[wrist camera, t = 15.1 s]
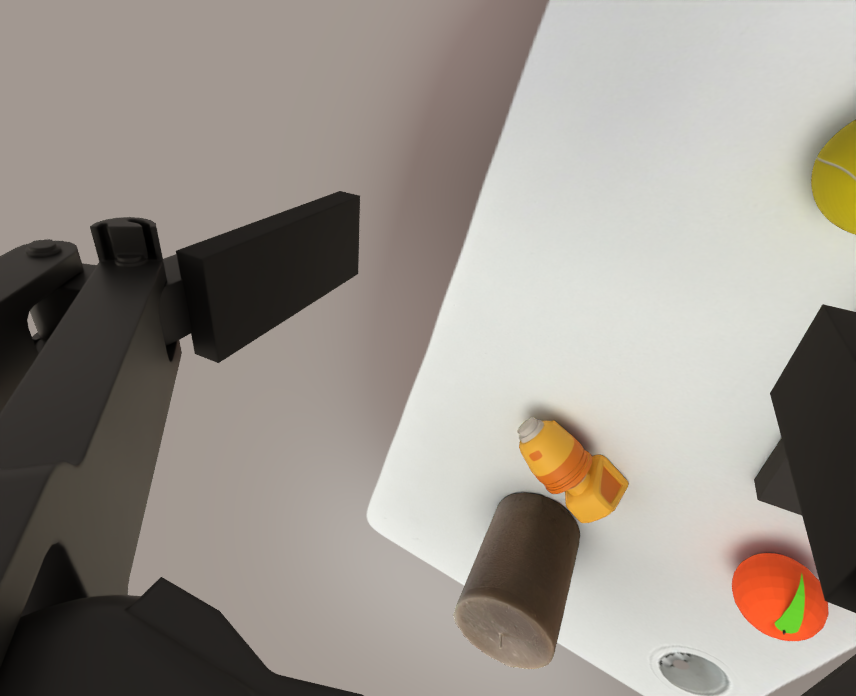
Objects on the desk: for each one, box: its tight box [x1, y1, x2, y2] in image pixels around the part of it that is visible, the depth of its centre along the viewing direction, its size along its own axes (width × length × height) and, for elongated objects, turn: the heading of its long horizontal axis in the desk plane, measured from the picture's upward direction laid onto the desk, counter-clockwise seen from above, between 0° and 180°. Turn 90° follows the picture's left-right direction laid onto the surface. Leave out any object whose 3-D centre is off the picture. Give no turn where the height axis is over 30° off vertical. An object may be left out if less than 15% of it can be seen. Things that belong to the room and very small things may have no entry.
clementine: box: [732, 553, 828, 641], centre depth 43 cm, size 8×7×7 cm
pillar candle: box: [453, 493, 580, 669], centre depth 50 cm, size 10×10×15 cm
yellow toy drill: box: [518, 418, 628, 523], centre depth 47 cm, size 5×6×12 cm
